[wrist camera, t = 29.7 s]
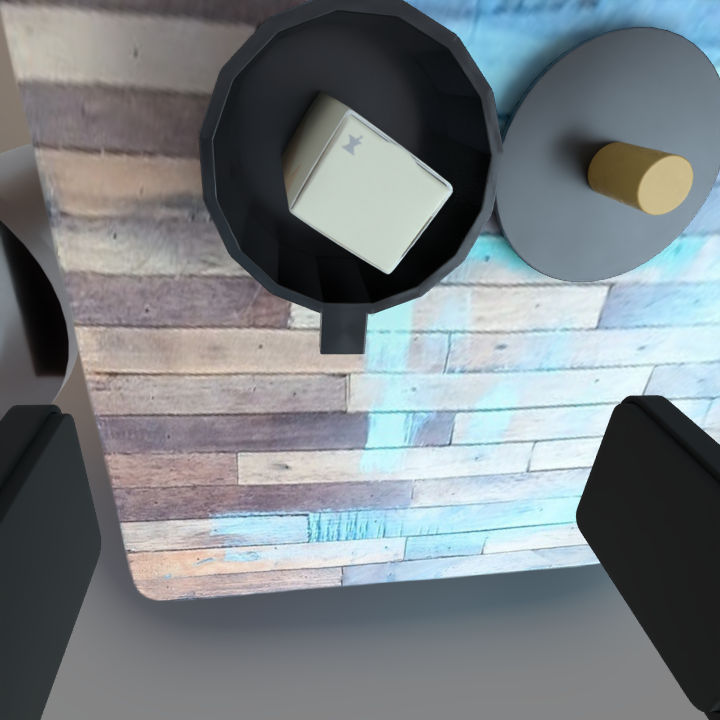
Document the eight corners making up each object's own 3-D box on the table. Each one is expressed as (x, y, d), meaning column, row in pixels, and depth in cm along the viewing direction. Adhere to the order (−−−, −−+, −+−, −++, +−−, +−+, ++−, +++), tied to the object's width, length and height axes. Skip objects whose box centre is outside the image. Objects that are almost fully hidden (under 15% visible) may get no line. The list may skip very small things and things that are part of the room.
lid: (470, 274, 34) (504, 312, 29) (516, 15, 28) (573, 4, 22) (665, 278, 37) (731, 315, 31) (754, 39, 30) (857, 35, 24)
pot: (226, 303, 33) (214, 361, 27) (206, -73, 24) (180, -122, 18) (430, 305, 35) (464, 360, 29) (481, -41, 26) (548, -74, 20)
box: (278, 159, 29) (278, 207, 19) (321, 86, 27) (344, 100, 18) (355, 212, 31) (391, 279, 21) (399, 147, 29) (458, 188, 20)
